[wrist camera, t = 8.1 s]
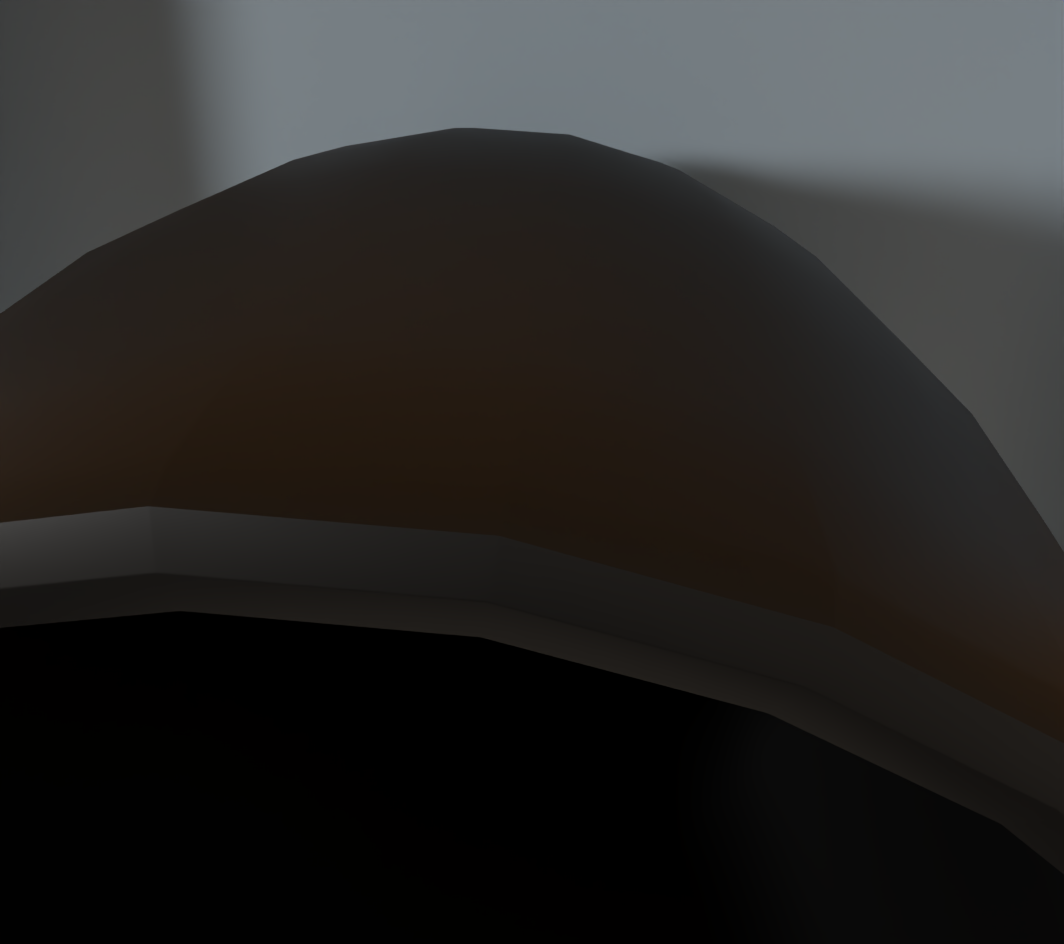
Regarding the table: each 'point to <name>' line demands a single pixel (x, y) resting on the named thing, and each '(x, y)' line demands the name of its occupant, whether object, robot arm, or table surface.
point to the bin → (604, 139)
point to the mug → (508, 580)
